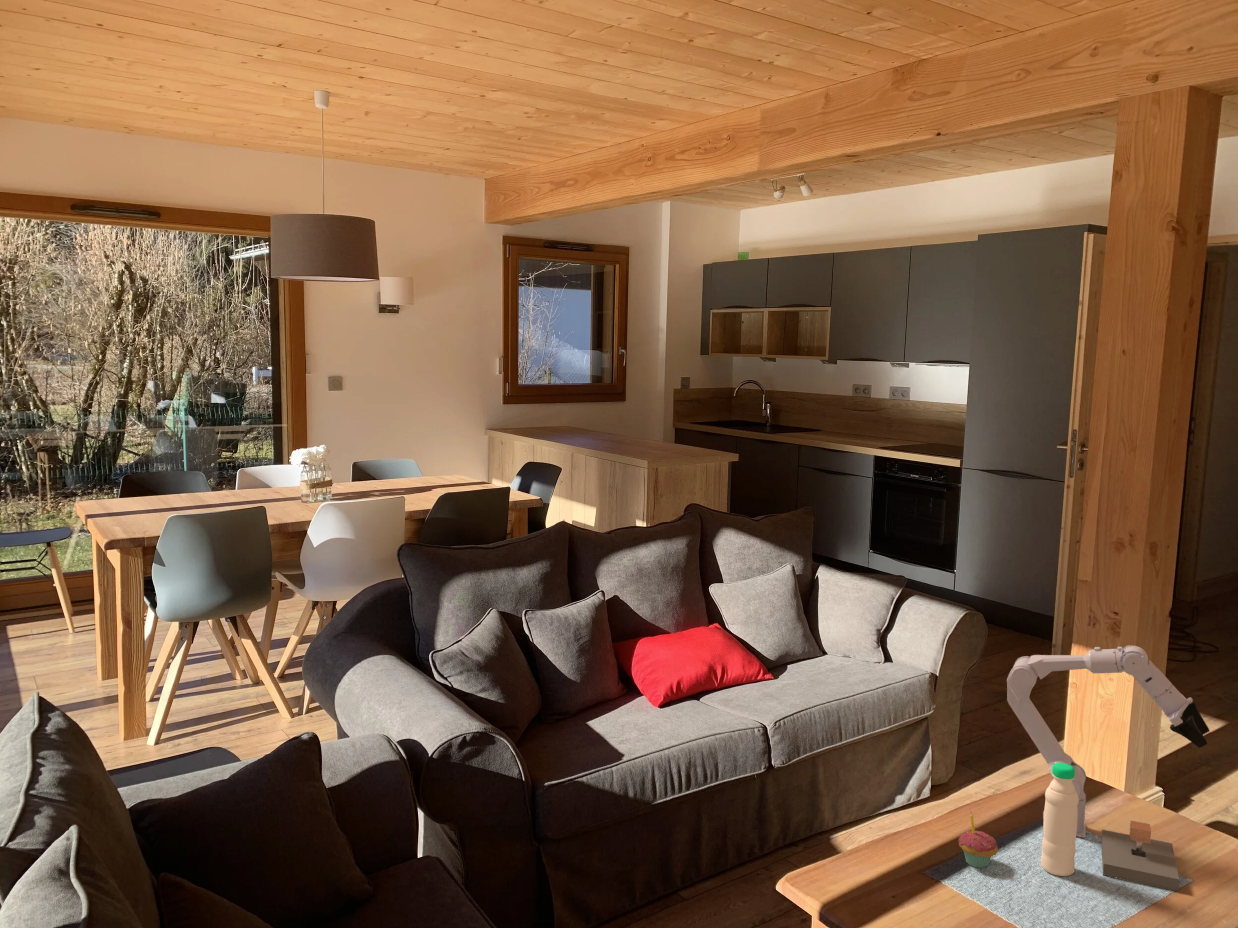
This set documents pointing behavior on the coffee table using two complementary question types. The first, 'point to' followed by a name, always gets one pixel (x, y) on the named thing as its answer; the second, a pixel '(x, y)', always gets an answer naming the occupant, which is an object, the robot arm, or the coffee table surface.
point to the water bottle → (1060, 822)
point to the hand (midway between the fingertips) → (1204, 738)
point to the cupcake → (977, 846)
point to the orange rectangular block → (1140, 834)
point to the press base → (1139, 861)
